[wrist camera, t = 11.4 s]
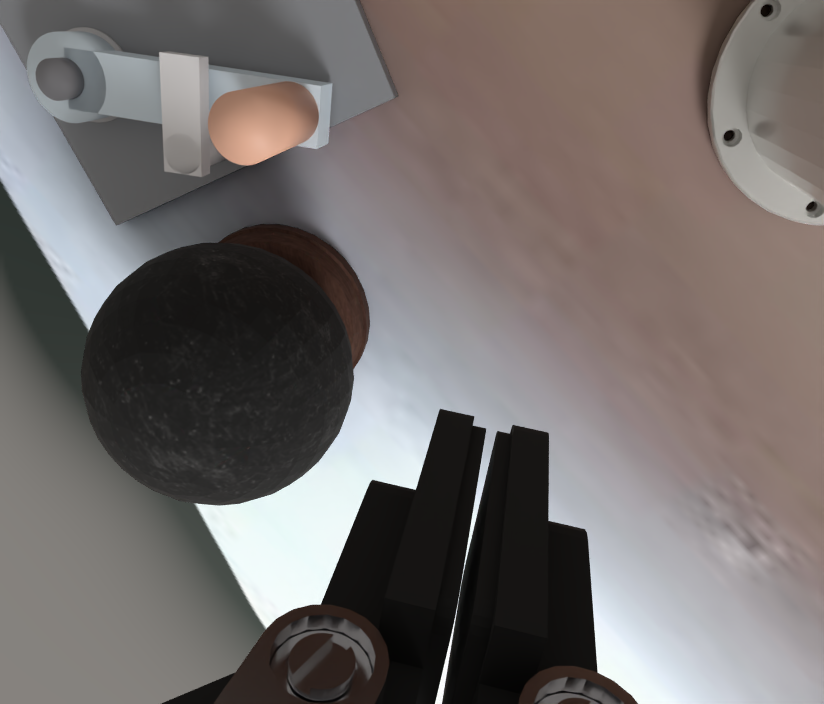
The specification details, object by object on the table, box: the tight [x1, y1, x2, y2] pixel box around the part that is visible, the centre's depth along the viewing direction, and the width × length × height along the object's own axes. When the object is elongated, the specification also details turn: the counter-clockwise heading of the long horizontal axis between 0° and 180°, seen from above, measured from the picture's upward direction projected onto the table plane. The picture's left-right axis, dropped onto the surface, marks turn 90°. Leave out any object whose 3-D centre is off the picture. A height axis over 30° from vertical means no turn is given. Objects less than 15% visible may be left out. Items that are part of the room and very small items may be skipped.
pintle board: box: [0, 0, 398, 225], centre depth 35 cm, size 18×14×5 cm
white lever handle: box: [27, 31, 332, 165], centre depth 33 cm, size 16×4×8 cm, turn 83°
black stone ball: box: [81, 224, 370, 505], centre depth 36 cm, size 13×13×15 cm
